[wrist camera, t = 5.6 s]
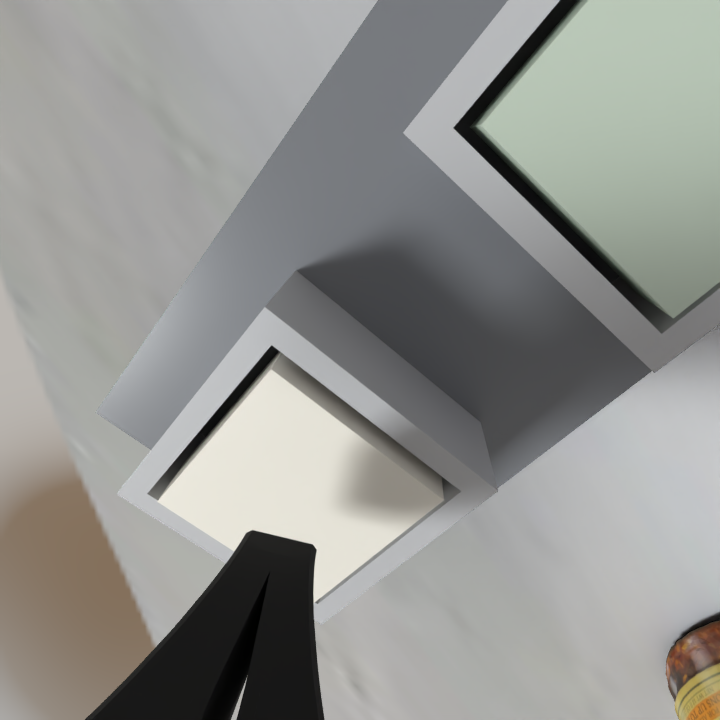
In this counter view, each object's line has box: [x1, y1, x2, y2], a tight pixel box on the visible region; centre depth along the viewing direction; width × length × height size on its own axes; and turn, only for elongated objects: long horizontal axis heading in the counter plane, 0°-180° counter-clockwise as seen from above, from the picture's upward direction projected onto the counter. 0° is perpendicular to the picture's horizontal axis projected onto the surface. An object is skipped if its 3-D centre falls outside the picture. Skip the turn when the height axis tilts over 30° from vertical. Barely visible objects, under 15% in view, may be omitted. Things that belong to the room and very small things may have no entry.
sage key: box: [470, 0, 720, 319], centre depth 8 cm, size 5×5×2 cm
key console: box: [95, 0, 720, 625], centre depth 12 cm, size 11×20×6 cm, turn 140°
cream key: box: [157, 351, 444, 603], centre depth 12 cm, size 5×5×2 cm
